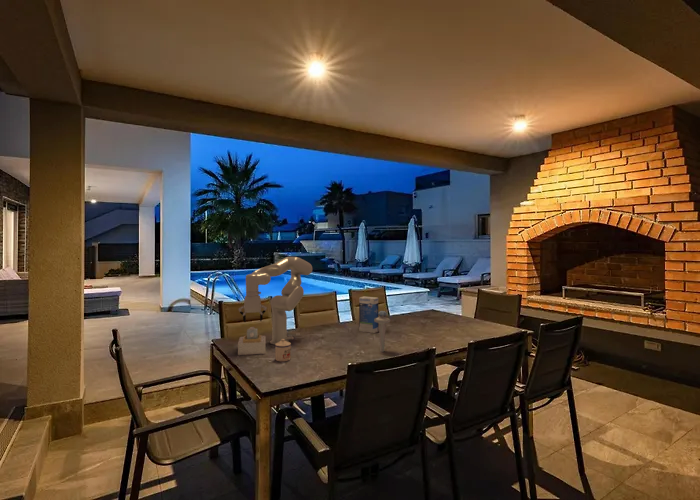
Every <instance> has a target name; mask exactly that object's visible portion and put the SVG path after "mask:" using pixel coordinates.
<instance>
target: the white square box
mask: <svg viewBox="0 0 700 500" xmlns="http://www.w3.org/2000/svg"><path fill="white" fill-rule="evenodd" d="M266 339H267V338H266V335H262V334H257V339H247V334H245V335H243V336H239V339H238V342H237V356H249V355H251V356H252V355H263V354H264V355H265V354H266V349H267V347H266V345H267V342H266Z"/></svg>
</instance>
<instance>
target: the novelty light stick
mask: <svg viewBox="0 0 700 500" xmlns="http://www.w3.org/2000/svg"><path fill="white" fill-rule="evenodd" d="M387 315H388V313H387V312H386V311H385V310H380V311H379V310H378V318H375V319H374V321H375V322H377V323H378V330H379V331H378V332H379V333H378V334H379V352H380V353H384V352H385V342H386V328H387V326H386V325H387V324H389V323H391V318H390V317H386V316H387Z"/></svg>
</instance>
